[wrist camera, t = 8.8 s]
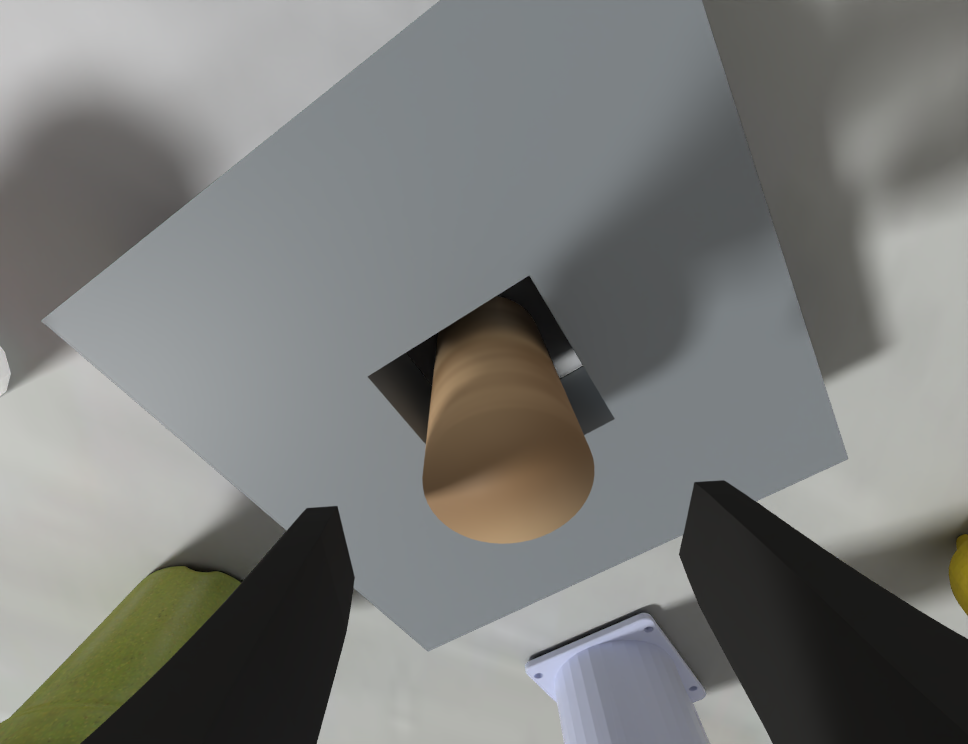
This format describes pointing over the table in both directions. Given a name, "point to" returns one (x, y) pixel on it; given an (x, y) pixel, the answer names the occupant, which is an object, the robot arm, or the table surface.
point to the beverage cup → (4, 372)
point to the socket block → (479, 294)
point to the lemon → (960, 572)
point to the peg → (502, 431)
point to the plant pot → (119, 656)
